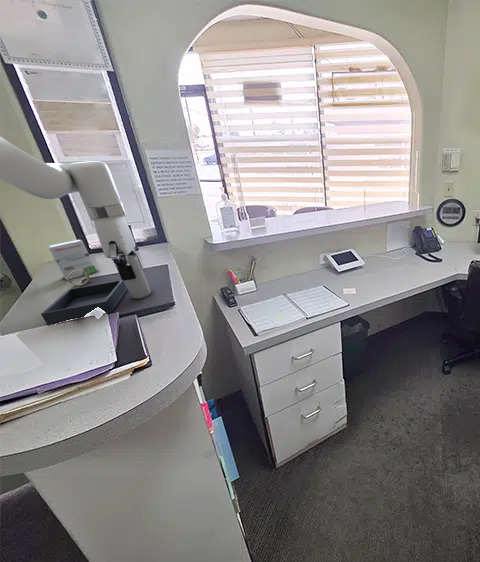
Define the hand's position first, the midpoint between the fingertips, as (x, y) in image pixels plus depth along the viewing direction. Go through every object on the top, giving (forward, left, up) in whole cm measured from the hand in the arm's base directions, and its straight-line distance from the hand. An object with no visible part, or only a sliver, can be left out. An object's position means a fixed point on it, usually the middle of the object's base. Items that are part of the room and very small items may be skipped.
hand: (132, 274), depth 88 cm
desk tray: (-12, 0, -7) cm, 14 cm away
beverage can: (0, 0, -7) cm, 7 cm away
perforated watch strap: (-21, +21, -7) cm, 31 cm away
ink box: (-25, +33, -7) cm, 42 cm away
